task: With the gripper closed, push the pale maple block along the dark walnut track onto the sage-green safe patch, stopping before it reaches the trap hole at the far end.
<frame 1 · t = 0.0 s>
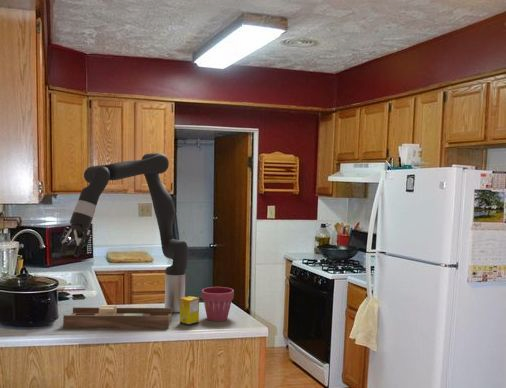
hand: (69, 255, 184), 31 cm above the counter, tool tilted 20°, fingers open, 8 cm apart
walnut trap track: (119, 323, 206), on the counter
plant pot: (217, 318, 218), on the counter
maple block: (107, 316, 205), point 3 cm above the counter, touching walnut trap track
supplement box: (189, 323, 209), on the counter
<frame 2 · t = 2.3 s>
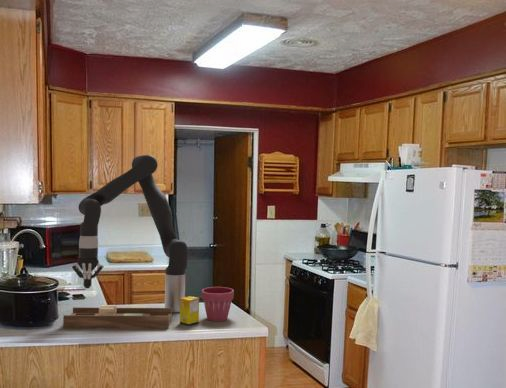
hand: (87, 287, 204), 15 cm above the counter, tool pointing down, fingers closed
nothing on the counter moved.
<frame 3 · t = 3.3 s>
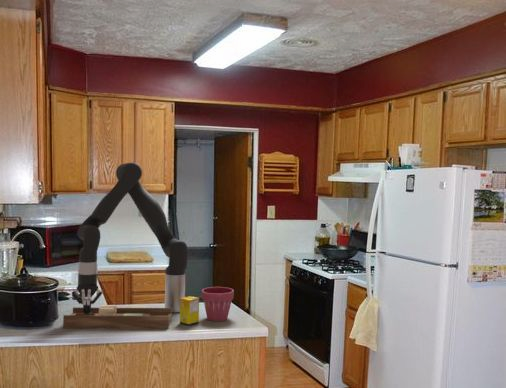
hand: (86, 313, 204), 4 cm above the counter, tool pointing down, fingers closed
nothing on the counter moved.
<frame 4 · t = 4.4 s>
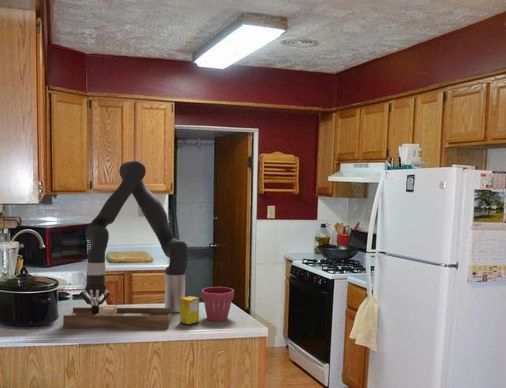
hand: (95, 314, 205), 4 cm above the counter, tool pointing down, fingers closed
maple block: (107, 316, 205), point 3 cm above the counter, touching gripper
everything else where it was.
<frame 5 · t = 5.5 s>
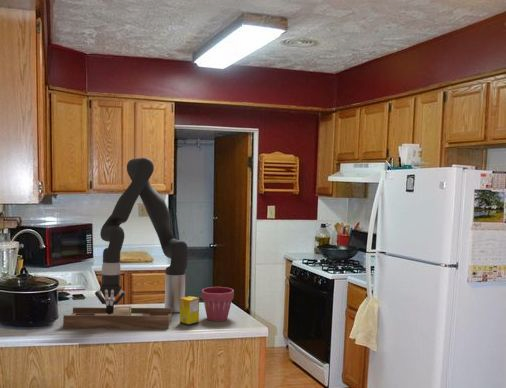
hand: (109, 313, 205), 4 cm above the counter, tool pointing down, fingers closed
maple block: (122, 316, 205), point 3 cm above the counter, touching gripper
everything else where it was.
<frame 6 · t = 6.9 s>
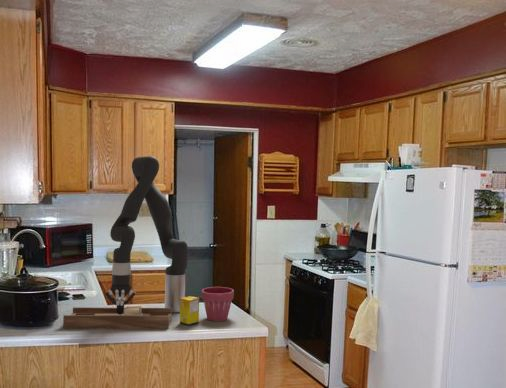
hand: (120, 314, 205), 4 cm above the counter, tool pointing down, fingers closed
maple block: (132, 317, 205), point 3 cm above the counter, touching gripper, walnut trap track
everything else where it was.
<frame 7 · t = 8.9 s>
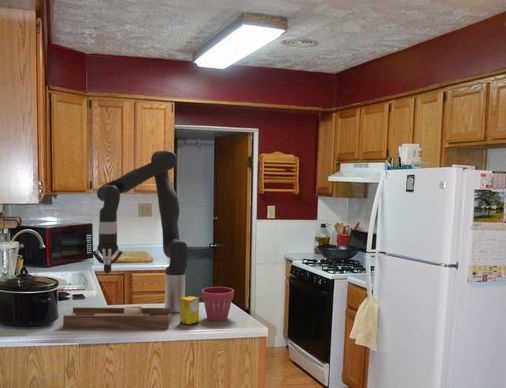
hand: (107, 273, 207), 21 cm above the counter, tool pointing down, fingers closed
maple block: (132, 317, 205), point 3 cm above the counter, touching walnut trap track
everything else where it was.
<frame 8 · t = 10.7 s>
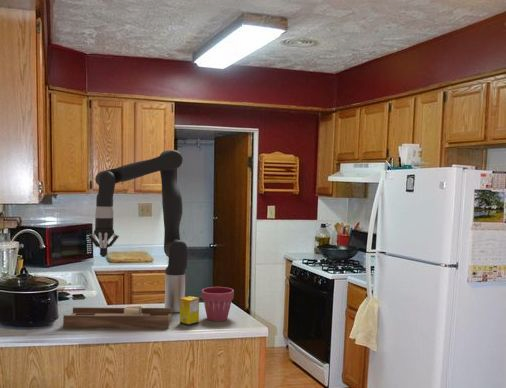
hand: (103, 256, 213), 27 cm above the counter, tool pointing down, fingers closed
nothing on the counter moved.
at the end: maple block inside the target area (0.9 cm from its centre), point 3.0 cm above the counter; maple block tilted 0° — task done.
